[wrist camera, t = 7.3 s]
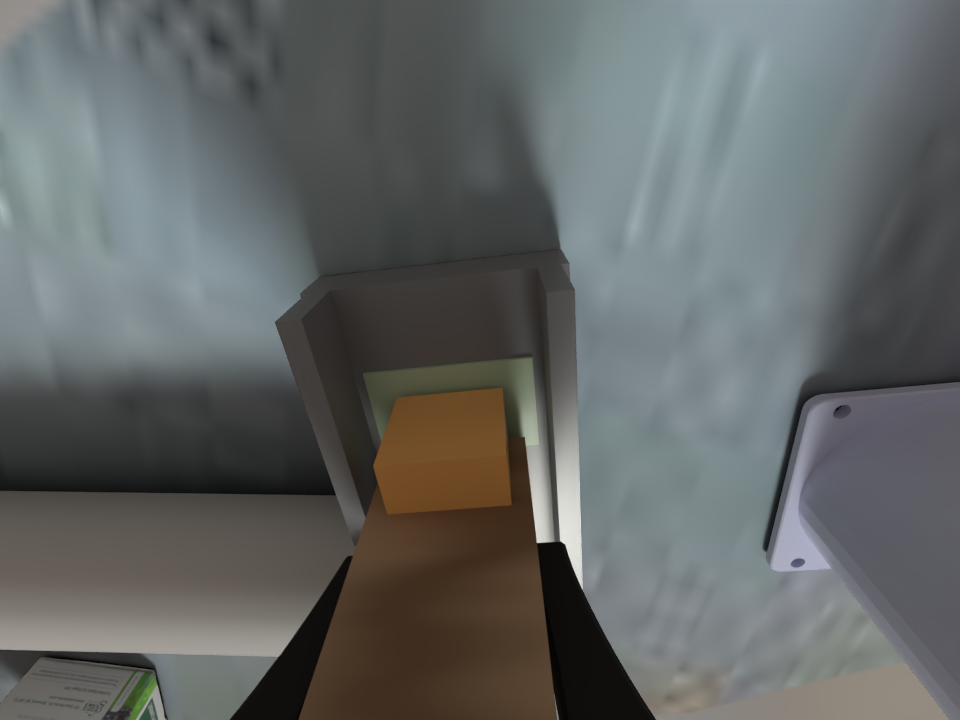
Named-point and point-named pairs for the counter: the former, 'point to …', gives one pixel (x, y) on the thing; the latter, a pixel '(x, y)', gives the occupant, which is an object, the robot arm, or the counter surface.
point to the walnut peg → (440, 617)
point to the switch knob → (445, 453)
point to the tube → (164, 570)
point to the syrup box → (83, 693)
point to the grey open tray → (444, 368)
